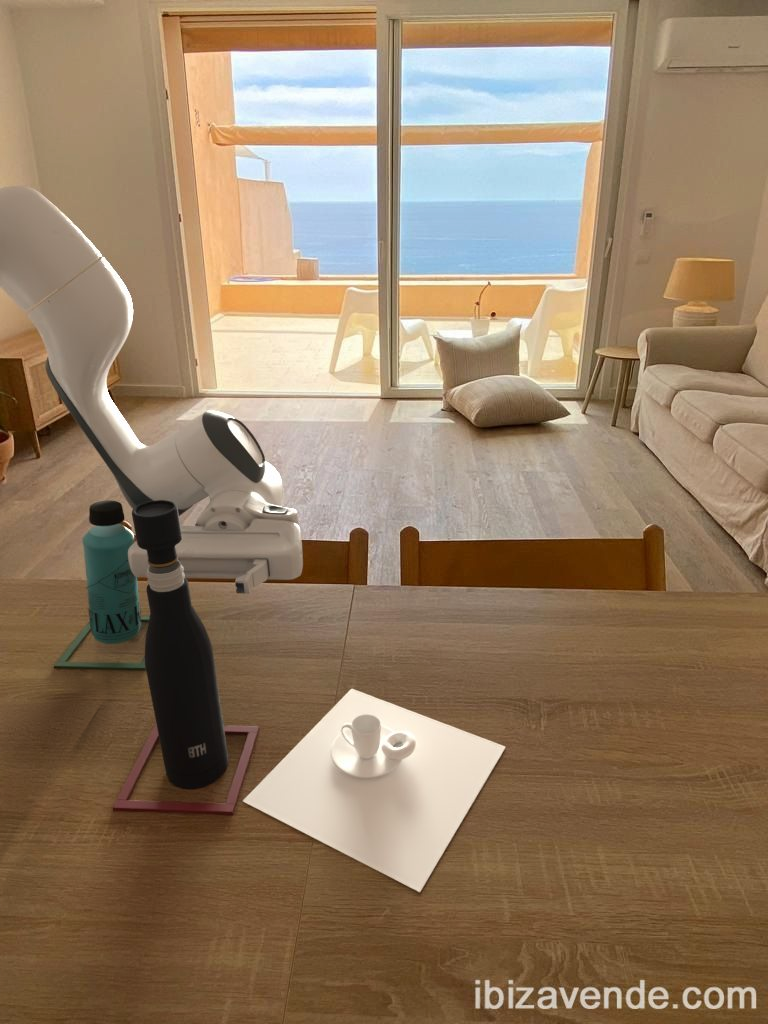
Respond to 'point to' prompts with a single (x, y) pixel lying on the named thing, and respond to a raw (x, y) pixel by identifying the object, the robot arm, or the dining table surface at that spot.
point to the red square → (187, 807)
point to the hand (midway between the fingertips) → (199, 587)
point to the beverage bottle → (110, 575)
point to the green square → (95, 665)
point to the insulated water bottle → (179, 658)
